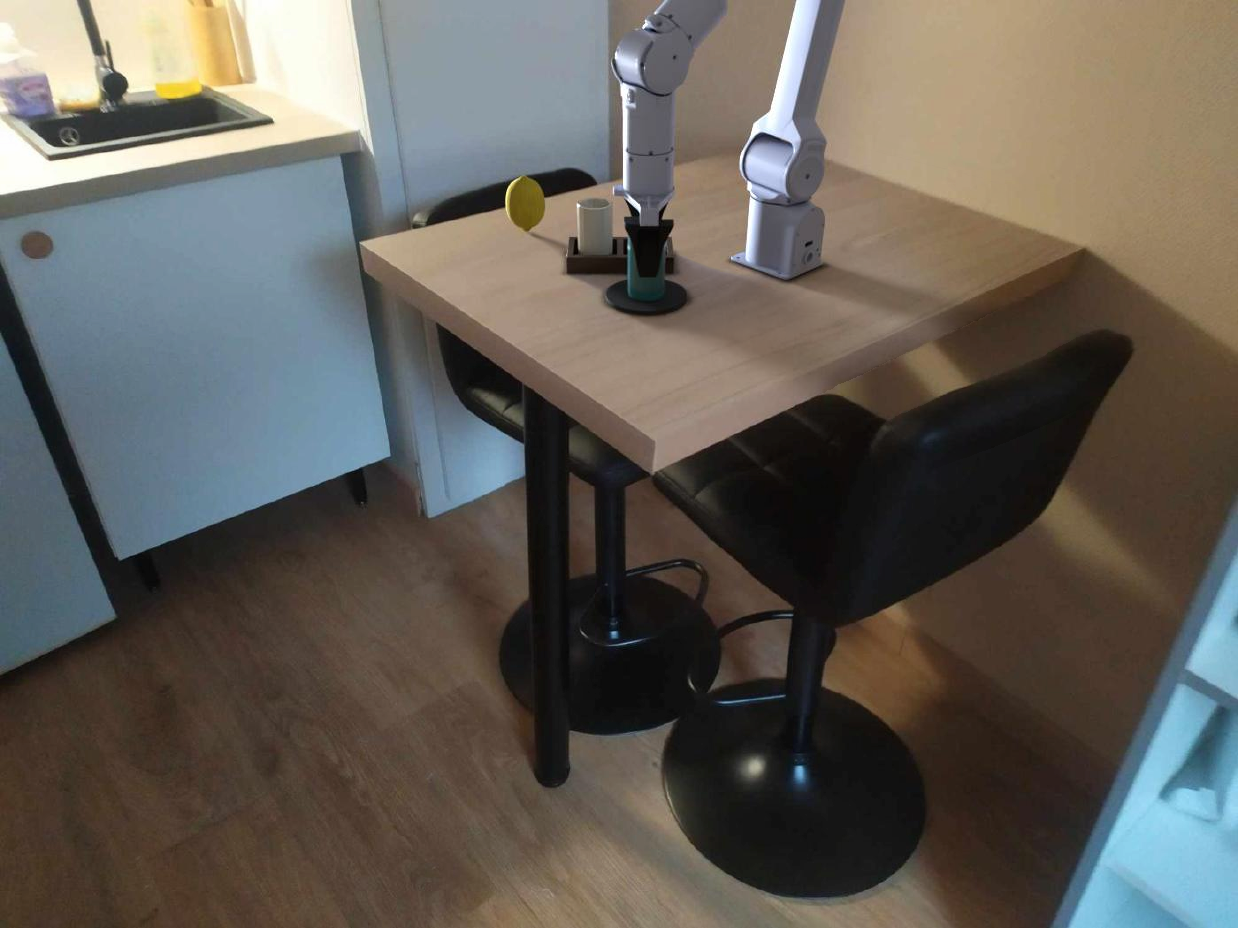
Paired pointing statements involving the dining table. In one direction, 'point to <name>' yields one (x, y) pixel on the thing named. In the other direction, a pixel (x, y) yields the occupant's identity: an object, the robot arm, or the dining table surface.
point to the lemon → (525, 203)
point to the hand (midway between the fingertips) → (647, 263)
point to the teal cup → (645, 279)
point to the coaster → (669, 302)
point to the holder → (609, 258)
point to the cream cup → (595, 226)
